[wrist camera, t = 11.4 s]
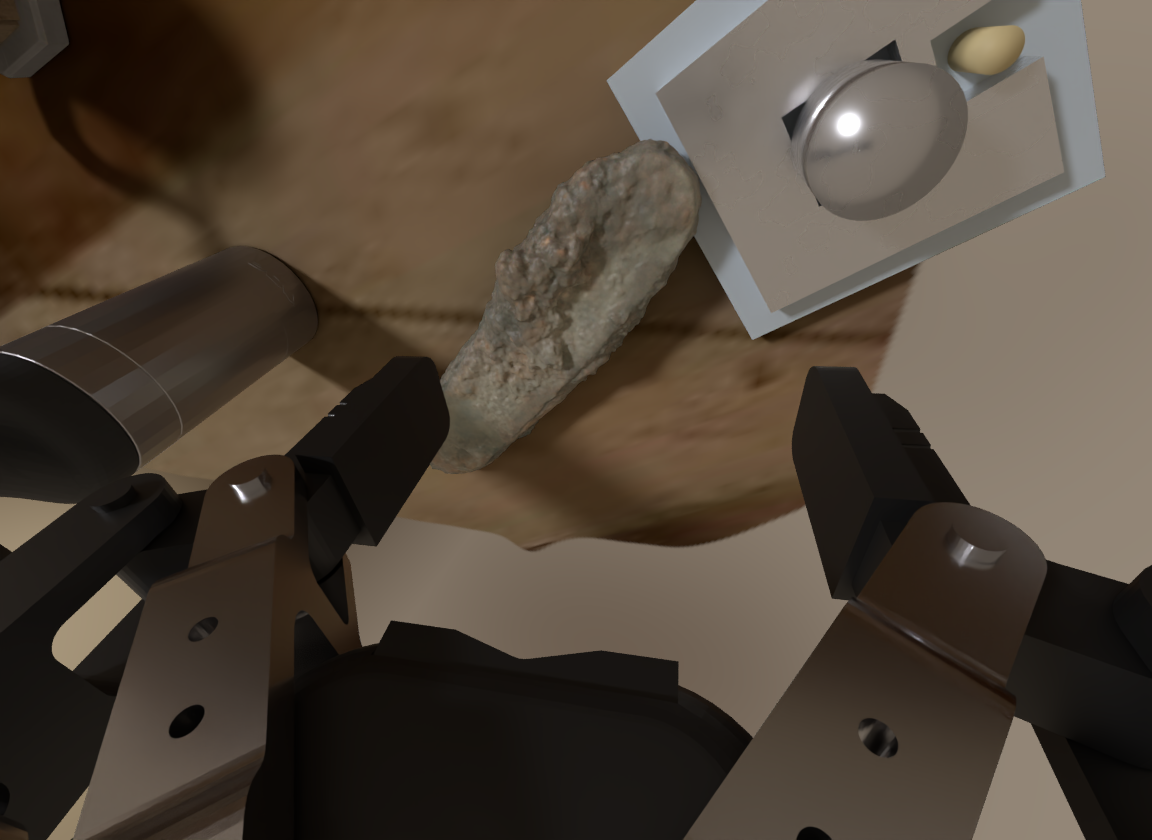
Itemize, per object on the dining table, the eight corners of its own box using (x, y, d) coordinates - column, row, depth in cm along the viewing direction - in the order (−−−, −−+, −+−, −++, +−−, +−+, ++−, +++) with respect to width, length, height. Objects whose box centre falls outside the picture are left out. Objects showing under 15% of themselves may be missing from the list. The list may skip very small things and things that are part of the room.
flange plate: (768, 302, 30) (781, 353, 25) (657, 90, 25) (646, 102, 20) (1045, 165, 23) (1139, 198, 18) (979, -175, 18) (1088, -262, 13)
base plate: (750, 329, 33) (756, 362, 30) (610, 79, 26) (596, 84, 23) (1086, 170, 24) (1149, 191, 21) (1015, -283, 17) (1095, -365, 14)
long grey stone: (409, 415, 48) (491, 464, 51) (382, 453, 44) (473, 503, 47) (608, 79, 24) (745, 202, 27) (587, 101, 21) (747, 241, 23)
